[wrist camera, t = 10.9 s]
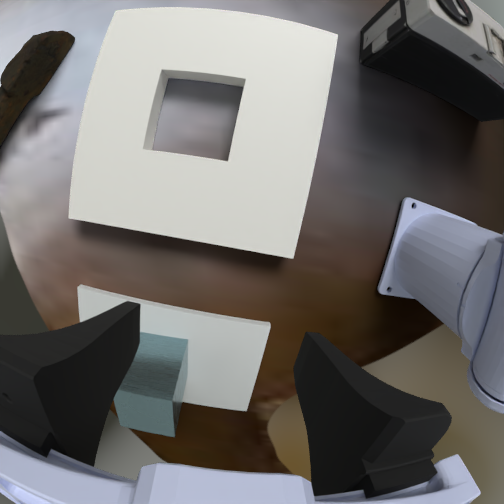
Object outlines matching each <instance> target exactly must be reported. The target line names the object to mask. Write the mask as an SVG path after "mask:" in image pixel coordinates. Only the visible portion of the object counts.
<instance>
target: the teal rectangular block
mask: <svg viewBox="0 0 504 504" xmlns="http://www.w3.org/2000/svg"><path fill="white" fill-rule="evenodd" d="M187 376H188V339H182V338H175V337H169V336H162V335H156V334H150V333H145V332H140V344H139V347H138V350H137V352H136V355H135V358H134V360H133V362H132V364H131V366H130V368H129V370H128V372H127V374H126V376H125V378H124V379H123V381H122V383H121V385H120V387H119V389H118V391H117V393H116V395H115V397H114V403H115V407H116V411H117V414H118V418H119V422H120V425H121V426H124V427H128V428H132V429H136V430H141V431H145V432H150V433H155V434H160V435H165V436H171V437H175V434H176V429H177V424H178V419H179V414H180V409H181V404H182V399H183V395H184V390H185V385H186V381H187Z"/></svg>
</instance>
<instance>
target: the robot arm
mask: <svg viewBox="0 0 504 504" xmlns="http://www.w3.org/2000/svg"><path fill="white" fill-rule="evenodd" d="M412 203H414V207H413V208H412V207H411V206H412ZM388 287H390V289H389V290H388V291H387V288H388ZM378 291H379V293H381V294H384V295H390V296H397V297H405V298H412V299H416V300H418V301H419V302H420V303H421V304H422V305H423V306H425V307H426V308H427V309H428V310H429V311H430V312H432V313H433V314H434V315H435V316H436V317H437V318H439V319H440V320H441V321H442V322H443V323H444V324H445V325H447V326H448V327H449V328H450V329H451V330H452V331H453V332H454V333H455V334H457V335H458V336H459V337H460V338H461V339H462V341H463V344H462V349H461V352H462V353H463V354H464V355H465V356H466V357H467V358H468V359H469V360H470V364H469V367H468V370H467V379H468V383H469V386H470V388H471V390H472V392H473V393H474V395H475V396H476V397H477V399H479V401H481V402H482V403H483V404H484V405H485V406H486V407H488V408H490V409H491V410H494V411H496V412H499V413H503V414H504V232H503V235H501V234H498V233H496V232H493V231H490V230H487V229H484V228H482V227H479V226H477V225H476V224H475V223H473V222H471V221H468V220H466V219H464V218H461V217H459V216H456V215H454V214H451V213H449V212H446V211H444V210H441V209H439V208H436V207H434V206H431V205H428V204H426V203H423V202H420V201H417V200H415V199H412V198H407V197H406V198H404V199H403V201H402V205H401V209H400V213H399V217H398V221H397V225H396V229H395V232H394V236H393V240H392V243H391V247H390V250H389V253H388V257H387V260H386V263H385V266H384V270H383V273H382V276H381V279H380V282H379V285H378ZM140 307H141V304H139V303H135V302H130V301H126V302H124V303H121V304H119V305H117V306H115V307H113V308H111V309H109V310H107V311H105V312H103V313H101V314H99V315H97V316H94V317H92V318H90V319H87V320H85V321H83V322H80V323H78V324H75V325H72V326H69V327H65V328H62V329H58V330H53V331H48V332H43V333H38V334H29V335H0V492H1V493H2V494H3V495H5V496H6V497H7V498H9V499H10V500H12V501H13V502H15V503H16V504H469V503H470V502H471V501H473V500H474V499H475V498H476V497H477V496H479V495H480V490H479V489H478V487H477V485H476V483H475V482H474V480H473V478H472V477H471V475H470V473H469V471H468V470H467V468H466V467H465V465H464V463H463V462H462V460H461V458H460V457H459V455H458V454H457V455H453V456H451V457H448V458H445V459H443V460H440V461H438V462H437V463H435V464H434V465H433V463H432V461H431V459H432V458H433V457H434V454H433V452H432V450H431V449H432V448H433V447H434V446H435V445H436V443H437V442H438V441H439V440H440V439H441V438H442V436H443V435H444V434H445V433H446V431H447V430H448V428H449V426H450V423H451V419H452V417H451V415H450V413H449V412H448V410H447V409H446V408H445V406H444V405H443V404H442V403H439V402H435V401H430V400H427V399H423V398H420V397H417V396H414V395H411V394H408V393H405V392H403V391H401V390H399V389H396V388H394V387H392V386H390V385H388V384H386V383H384V382H383V381H381V380H379V379H377V378H376V377H374V376H372V375H371V374H369V373H368V372H366V371H365V370H364V369H362V368H361V367H359V366H358V365H357V364H355V363H354V362H353V361H352V360H350V359H349V358H348V357H347V356H346V355H344V354H343V353H342V352H341V351H340V350H339V349H337V348H336V347H335V346H334V345H333V344H332V343H331V342H329V341H328V340H327V339H326V338H325V337H323V336H322V335H321V334H319V333H313V332H306V333H305V336H304V339H303V342H302V345H301V348H300V351H299V354H298V356H297V359H296V362H295V365H294V378H295V386H296V391H297V394H298V398H299V402H300V406H301V409H302V413H303V417H304V421H305V425H306V429H307V435H308V443H309V451H310V463H311V482H309V481H308V480H306V479H304V478H303V477H301V476H298V475H292V474H283V473H253V472H238V471H226V470H217V469H209V468H202V467H195V466H189V465H183V464H173V463H162V462H160V463H155V464H151V465H146V466H143V467H142V468H141V470H140V472H139V474H138V478H137V481H135V480H132V479H129V478H125V477H122V476H118V475H115V474H112V473H109V472H106V471H103V470H101V469H98V468H95V467H94V463H95V458H96V454H97V449H98V445H99V441H100V437H101V434H102V431H103V427H104V424H105V421H106V418H107V415H108V412H109V409H110V406H111V404H112V401H113V399H114V397H115V395H116V393H117V391H118V389H119V387H120V385H121V383H122V381H123V379H124V378H125V376H126V374H127V372H128V370H129V368H130V366H131V364H132V362H133V360H134V358H135V355H136V352H137V350H138V347H139V344H140ZM311 484H312V485H311Z"/></svg>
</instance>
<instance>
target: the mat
mask: <svg viewBox="0 0 504 504" xmlns="http://www.w3.org/2000/svg"><path fill="white" fill-rule="evenodd" d="M126 301H130V302H135V303H139V304H141V307H140V332H145V333H150V334H156V335H162V336H169V337H175V338H182V339H188V376H187V381H186V385H185V390H184V395H183V399H182V402H187V403H192V404H198V405H204V406H210V407H217V408H224V409H232V410H241V411H247V408H248V404H249V401H250V398H251V394H252V391H253V388H254V384H255V381H256V377H257V374H258V370H259V367H260V363H261V360H262V356H263V353H264V349H265V345H266V342H267V338H268V335H269V331H270V327H271V325H270V322H263V321H256V320H249V319H243V318H237V317H231V316H225V315H219V314H213V313H207V312H202V311H196V310H191V309H186V308H181V307H176V306H171V305H166V304H161V303H156V302H152V301H147V300H143V299H138V298H134V297H129V296H125V295H121V294H117V293H112V292H108V291H104V290H100V289H96V288H93V287H89V286H85V285H80V286H78V303H79V316H80V322H83V321H85V320H87V319H90V318H92V317H94V316H97V315H99V314H101V313H103V312H105V311H107V310H109V309H111V308H113V307H115V306H117V305H119V304H121V303H124V302H126Z"/></svg>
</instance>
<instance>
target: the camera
mask: <svg viewBox="0 0 504 504" xmlns="http://www.w3.org/2000/svg"><path fill="white" fill-rule="evenodd" d="M361 30H362V35H361V54H360V63H361V64H364V65H366V66H369V67H372V68H374V69H377V70H380V71H382V72H385V73H387V74H390V75H392V76H395V77H397V78H400V79H402V80H404V81H407V82H409V83H411V84H413V85H415V86H418V87H420V88H422V89H424V90H426V91H428V92H430V93H432V94H434V95H436V96H438V97H440V98H442V99H444V100H446V101H447V102H449V103H451V104H453V105H455V106H456V107H458V108H460V109H462V110H463V111H465V112H467V113H468V114H470V115H472V116H473V117H475V118H476V119H478V120H480V121H481V122H482V121H491V120H500V119H504V28H503V27H502V26H501V25H499V24H498V23H497V22H496V21H495V20H494V19H493V18H491V17H490V16H489V15H488V14H487V13H485V12H484V11H483V10H482V9H480V8H479V7H478V6H476V5H475V4H474V3H472V2H471V1H470V0H390V1H389V2H388V3H387V4H386V5H385V6H384V7H383V8H382V9H381V10H380V11H379V12H378V13H377V14H376V15H375V16H374V17H373V18H372V19H371V20H370V21H369V22H368V23H367V24H366V25H365V26H364V27H363V28H362V29H361Z"/></svg>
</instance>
